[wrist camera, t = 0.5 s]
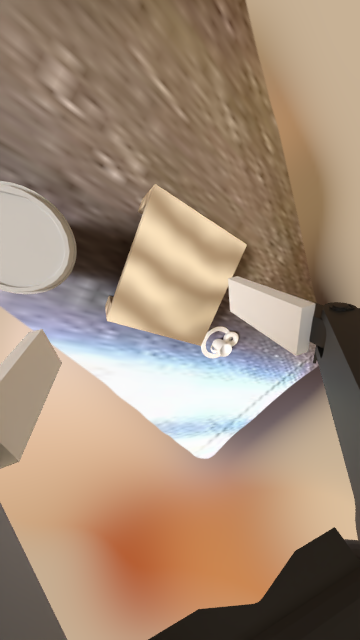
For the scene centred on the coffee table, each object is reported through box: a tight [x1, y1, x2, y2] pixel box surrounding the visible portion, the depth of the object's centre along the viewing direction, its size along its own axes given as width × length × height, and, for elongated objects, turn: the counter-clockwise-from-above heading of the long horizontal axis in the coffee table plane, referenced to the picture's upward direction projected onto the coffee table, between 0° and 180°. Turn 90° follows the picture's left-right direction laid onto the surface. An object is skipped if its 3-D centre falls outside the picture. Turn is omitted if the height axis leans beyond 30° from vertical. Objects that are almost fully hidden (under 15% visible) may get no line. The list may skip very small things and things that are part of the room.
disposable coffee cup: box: [0, 181, 77, 294], centre depth 22 cm, size 10×10×12 cm
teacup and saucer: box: [201, 327, 238, 358], centre depth 43 cm, size 9×8×4 cm
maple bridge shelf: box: [105, 184, 247, 346], centre depth 31 cm, size 18×16×8 cm
